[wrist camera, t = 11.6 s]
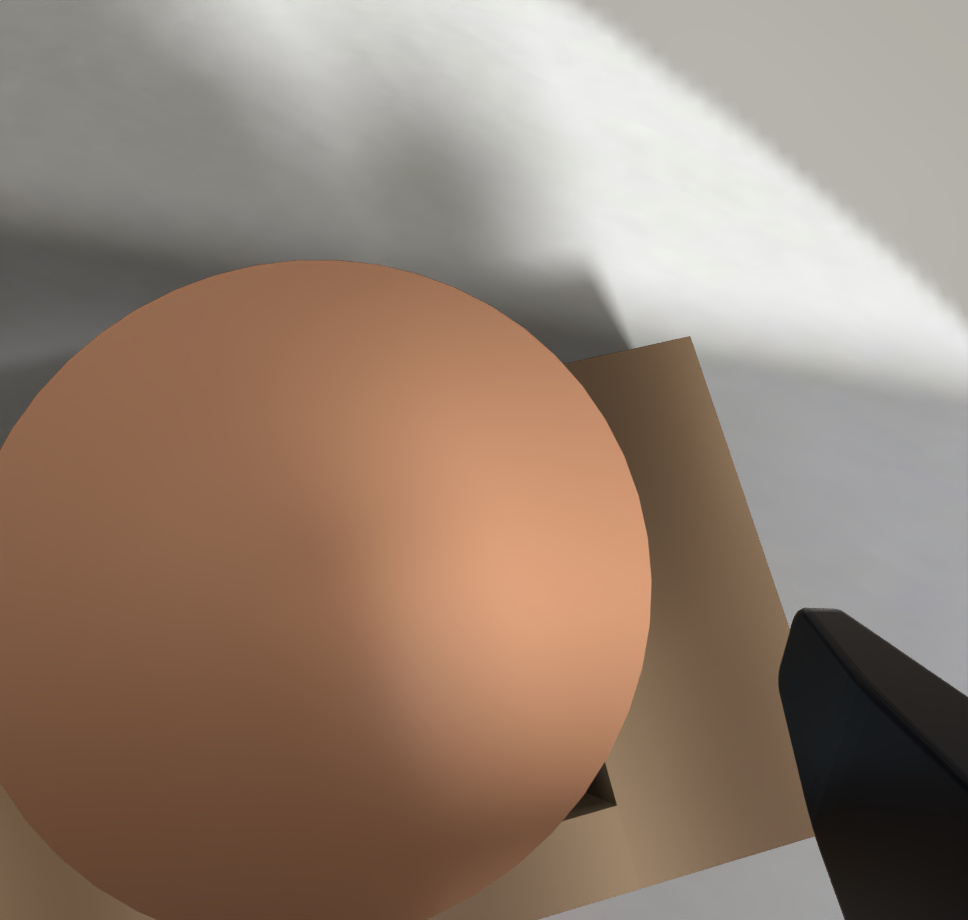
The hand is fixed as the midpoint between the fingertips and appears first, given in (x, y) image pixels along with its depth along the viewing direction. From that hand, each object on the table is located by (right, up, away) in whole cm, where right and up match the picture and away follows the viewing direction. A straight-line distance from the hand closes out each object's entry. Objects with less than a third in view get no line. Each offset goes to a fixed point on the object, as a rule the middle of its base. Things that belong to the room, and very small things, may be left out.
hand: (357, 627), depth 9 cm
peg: (-1, -3, +9) cm, 10 cm away
